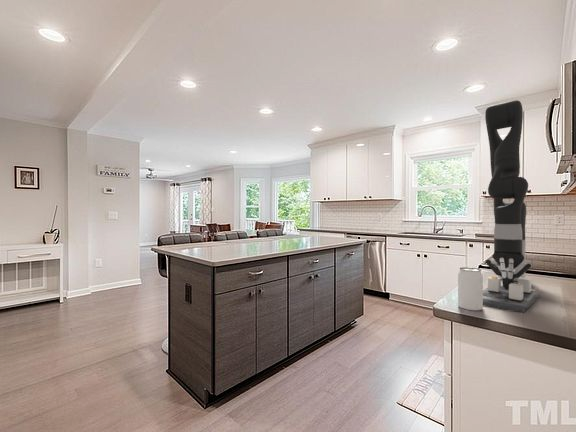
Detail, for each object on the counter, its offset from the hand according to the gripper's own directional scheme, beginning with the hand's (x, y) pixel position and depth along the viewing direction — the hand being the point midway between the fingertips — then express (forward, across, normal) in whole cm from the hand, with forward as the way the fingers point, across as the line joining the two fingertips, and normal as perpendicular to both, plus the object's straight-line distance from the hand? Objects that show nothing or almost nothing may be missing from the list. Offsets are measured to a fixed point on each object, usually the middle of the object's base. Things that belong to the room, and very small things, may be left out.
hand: (508, 289), depth 97 cm
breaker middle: (+1, +4, 0) cm, 4 cm away
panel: (+4, 0, 0) cm, 4 cm away
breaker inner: (+1, -3, -6) cm, 7 cm away
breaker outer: (+1, -3, +6) cm, 7 cm away
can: (+4, +6, +18) cm, 19 cm away
